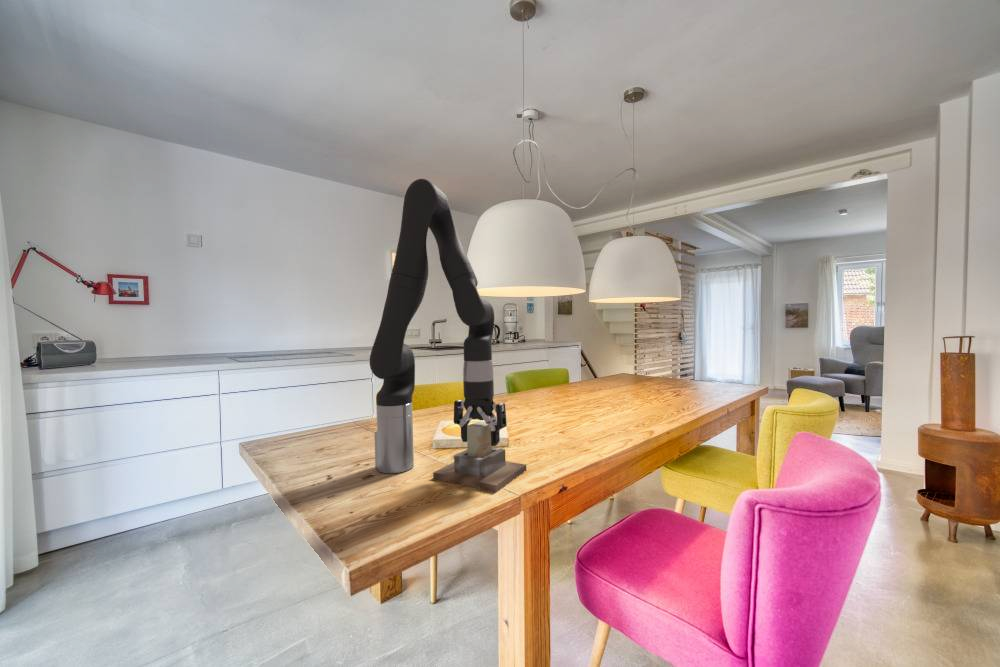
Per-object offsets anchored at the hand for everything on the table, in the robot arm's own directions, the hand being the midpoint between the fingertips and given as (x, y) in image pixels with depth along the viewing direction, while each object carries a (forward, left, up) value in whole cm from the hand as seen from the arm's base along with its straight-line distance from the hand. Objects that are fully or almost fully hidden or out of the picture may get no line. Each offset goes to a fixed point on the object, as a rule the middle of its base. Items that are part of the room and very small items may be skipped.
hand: (479, 443), depth 97 cm
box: (0, 0, -6) cm, 7 cm away
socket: (0, 0, -8) cm, 8 cm away
